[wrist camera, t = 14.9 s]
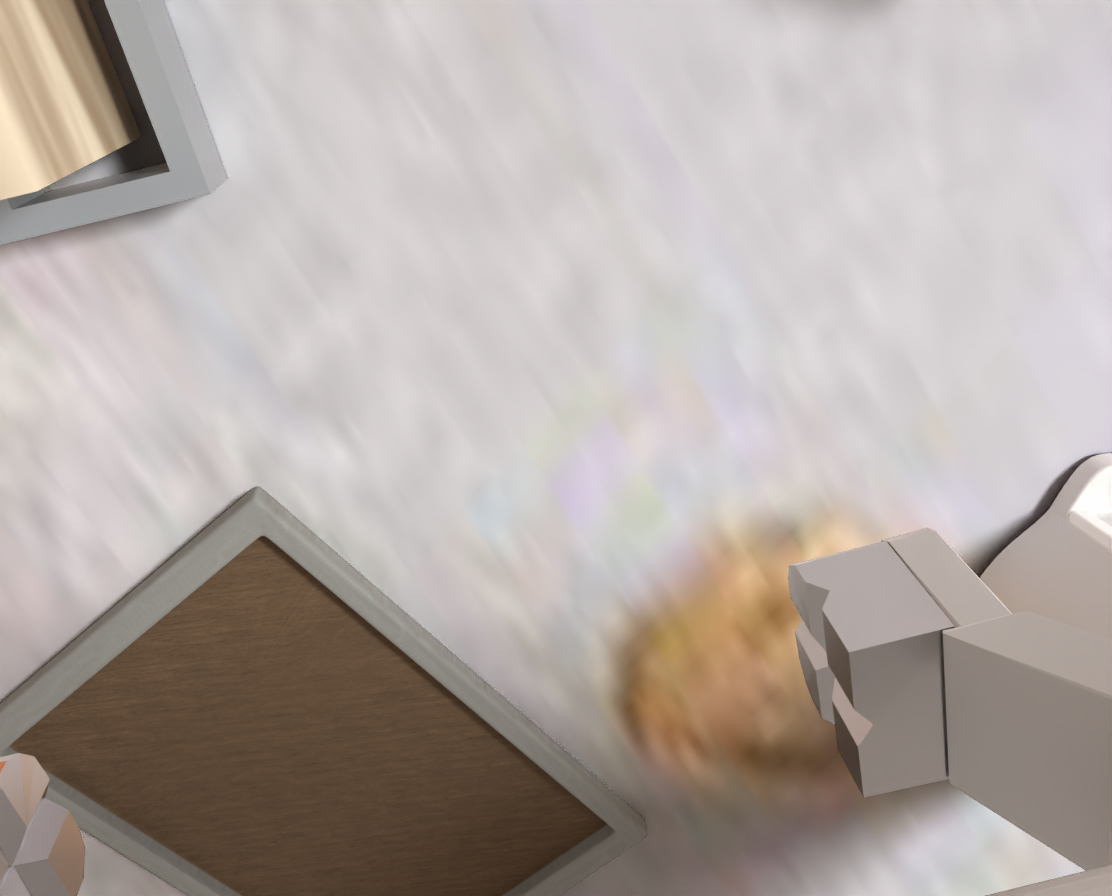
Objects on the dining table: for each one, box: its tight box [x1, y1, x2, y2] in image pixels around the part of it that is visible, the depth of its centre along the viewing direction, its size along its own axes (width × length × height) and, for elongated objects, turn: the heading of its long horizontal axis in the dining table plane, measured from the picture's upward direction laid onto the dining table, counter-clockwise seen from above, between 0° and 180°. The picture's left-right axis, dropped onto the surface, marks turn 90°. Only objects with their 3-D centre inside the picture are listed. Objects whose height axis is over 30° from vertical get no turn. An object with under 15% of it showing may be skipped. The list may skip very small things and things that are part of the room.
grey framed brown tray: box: [0, 486, 647, 896], centre depth 49 cm, size 19×2×30 cm
